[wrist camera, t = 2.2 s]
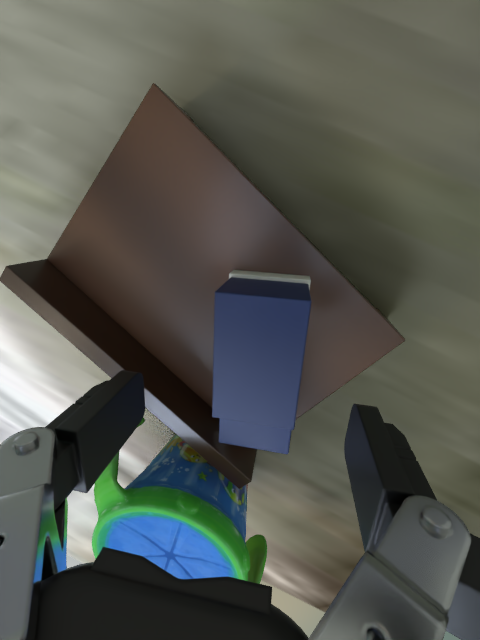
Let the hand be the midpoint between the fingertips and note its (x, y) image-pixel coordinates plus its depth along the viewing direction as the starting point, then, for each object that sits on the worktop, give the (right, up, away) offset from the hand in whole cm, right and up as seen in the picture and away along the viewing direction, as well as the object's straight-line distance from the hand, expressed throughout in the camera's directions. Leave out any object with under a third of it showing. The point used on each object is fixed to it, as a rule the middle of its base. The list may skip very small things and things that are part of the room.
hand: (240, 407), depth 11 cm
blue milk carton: (+2, +1, +8) cm, 8 cm away
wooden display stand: (-1, +6, +12) cm, 13 cm away
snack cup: (-3, -9, +17) cm, 20 cm away
